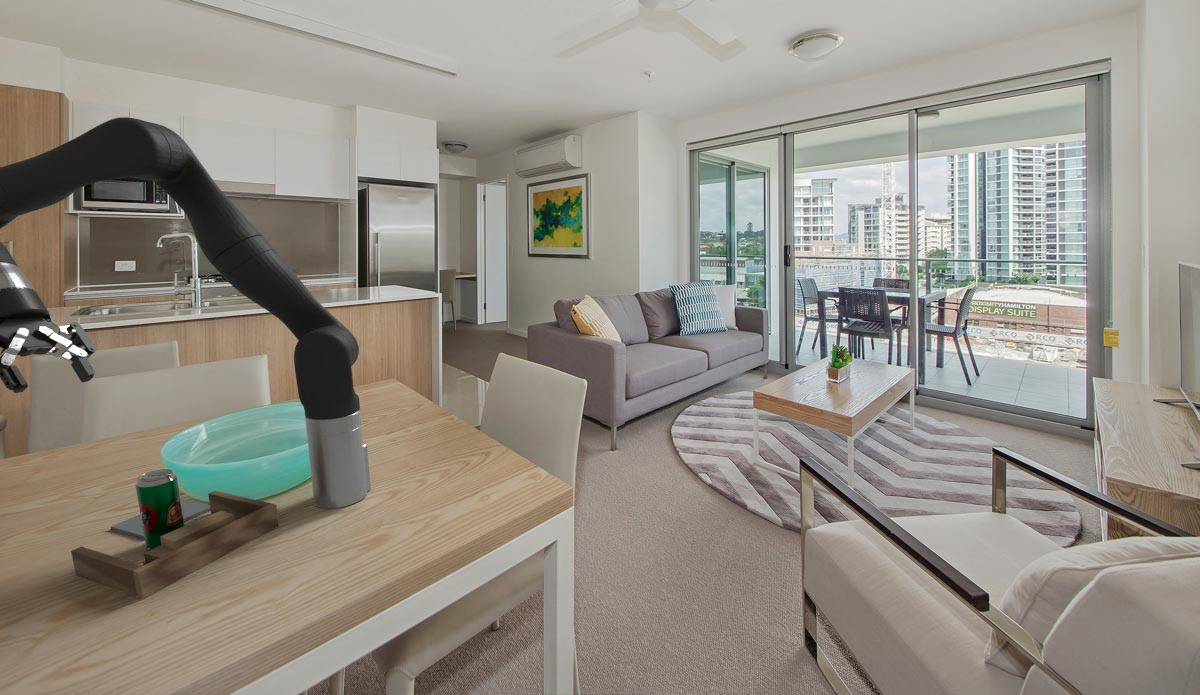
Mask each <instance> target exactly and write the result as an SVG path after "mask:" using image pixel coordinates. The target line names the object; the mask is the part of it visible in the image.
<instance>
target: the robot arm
mask: <svg viewBox="0 0 1200 695" xmlns="http://www.w3.org/2000/svg"><path fill="white" fill-rule="evenodd" d="M127 178H131V179H137V180H143V181H151V182H153V183H155V184H156V185H158V186H159V188H161V189H162V190H163V191H164V192H166V194H167V195H168V196H169V197H170V198H171V199H172V200H173V201H174V202H175V203H176V204H177V205H178V206H179V207H180V209H181V210H182V211H183V212H184V214H185V215H186V217H187V219H188V220H189V222H190V225H191V228H192V230H193V233H194V236H195V238H196V241H197V243H198V245H199V248H200V250H201V252H202V253H203V255H204V257H205V258H206V259H207V261H209V263H210V264H211V265H212V266H213V267H214V268H215V270H216V271H217V272H218V273H219V274H220V275H221V276H222V277H223V278H224V279H225V281H227V283H229V284H230V286H232V287H233V289H235V290H236V291H237V292H239V293H240V294H241V295H243V296H244V297H246V298H247V299H248V300H250V301H251V302H253V303H255V304H256V305H258V306H259V307H261V308H262V309H263V310H266V311H267V312H269V313H270V314H271V315H273V316H274V317H276V318H277V319H279V320H278V321H281V322H282V324H283V325H285V326H286V327H287V329H289V331H290V332H291V333H292V334H293V336H294V337H295V338H296V339H297V340H298V341H297V342H296V343H295V347H294V351H293V365H294V373H295V378H296V379H295V380H296V386H297V392H298V393H297V394H298V398H299V401H300V403H301V406H302V407H303V409H304V419H305V427H306V428H305V429H306V436H307V437H306V438H307V445H308V446H307V447H308V456H309V465H310V467H309V468H310V476H311V483H312V484H311V485H312V494H313V503H314V505H315V506H316V507H317V508H323V509H337V508H344V507H346V506H350V505H353V504H356V503H357V502H360V501H361V500H363V499H364V498H366V496H367V493H368V492H369V491H371V490H372V487H371V486H372V485H371V474H370V463H369V453H368V452H369V451H368V449H369V448H368V445H367V444H366V443H364V439H363V437H364V436H363V425H362V417H361V416H362V415H361V406H360V405H361V403H360V397H359V395H358V394H357V393H356V391H355V388H354V387H355V386H354V380H353V370H352V367H353V365H354V364H355V363H356V362H357V360H358V357H359V354H360V348H359V344H358V341H357V339H356V337H355V335H354V334H353V333H352V332H351V331H350V330H349V329H348V328H347V327H346V326H345V325H344V324H343V323H342V322H341V321H340V320H339V319H337V318H336V316H334V315H333V314H332V313H331V312H330V311H329V310H328V309H327V308H326V307H325V306H324V305H322V303H321V302H319V300H317V299H316V297H315V296H313V294H312V293H311V291H310V290H309V289H308V288H307V287H306V285H305V284H304V283H303V281H301V279H300V278H299V277H298V276H297V274H296V273H295V271H293V269H292V268H290V266H289V265H288V264H287V262H286V261H285V260H284V258H282V257H281V255H280V254H279V253H278V252H277V251H276V249H275V248H274V247H273V246H272V245H271V243H270V242H269V241H268V240H267V239H266V238H265V237H264V235H263V234H262V233H261V232H260V231H259V230H258V229H257V228H256V227H255V226H254V225H253V224H252V223H251V222H250V221H249V220H248V218H247V217H246V216H245V215H244V213H242V211H241V210H240V209H239V208H238V207H237V206H236V205H235V204H234V202H232V201H231V199H229V197H228V196H227V195H226V194H225V193H224V192H223V191H222V190H221V188H220V187H219V186H218V184H217V183H216V182H215V181H214V179H213V178H212V177H211V175H210V174H209V172H208V171H207V169H206V168H205V167H204V166H203V164H202V163H201V160H199V158H198V157H197V156H196V154H195V153H194V152H193V150H192V149H191V147H190V146H189V144H187V142H186V141H185V140H184V139H183V138H182V137H181V135H179V134H178V133H176V132H175V131H174V130H173V129H171V128H168V127H167V126H165V125H162V124H158V123H154V122H150V121H146V120H143V119H138V118H133V117H127V116H125V117H114V118H111V119H109V120H107V121H104V122H103V123H100V124H99V125H97V126H95V127H92V128H90V129H89V130H87V131H86V132H84V133H82V134H80V135H79V136H77V137H75V138H73V139H71V140H69V141H67V142H64V143H63V144H61V145H59V146H56V147H53V148H52V149H50V150H48V151H45V152H43V153H39V154H38V155H35V156H33V157H29V158H27V159H23V160H20V161H17V162H13V163H10V164H7V165H3V166H0V230H1V229H3V228H4V227H5V226H7V225H8V224H10V223H12V222H13V221H14V220H15V219H16V218H17V217H19V216H22V215H25V214H29V213H32V212H35V211H38V210H42V209H45V208H48V207H50V206H53V205H55V204H58V203H60V202H62V201H64V200H65V199H67V198H69V196H71V195H72V194H73V193H74V192H76V191H77V190H79V189H81V188H84V187H85V186H89V185H92V184H95V183H100V182H103V181H104V182H105V181H110V180H118V179H127ZM56 345H59V346H60V347H58V348H57V347H56ZM0 348H1V350H0V380H1V381H2V383H3V384H4V386H5V388H6V389H7V390H9V391H13V393H14V394H20V393H23V392H24V391H25V390H26V389H27V388H28V385H29V384H28V382H27V381H26V379H25V378H24V376H23V374H22V373H21V371H20V370H19V368H18V366H17V365H13V364H14V361H15V359H16V357H17V356H20V358H21V357H23V358H24V357H29V356H33V355H38V356H39V355H40V356H41V355H47V354H49V355H51V356H53V357H55V358H61V359H64V360H65V361H67V362H70V363H71V364H70V366H71V367H72V369H73V371H74V372H75V374H76V375H77V377H78V379H79V380H80V382H82V383H87V382H89V381H91V380H92V379H93V378H94V376H95V374H96V372H95V369H94V368H93V365H92V364H91V363H90V361H89V358H90V357H91V356H92V355H93V354H94V353H96V352H97V351H98V348H97V347H96V345H95V343H94V342H93V341H92V339H91V338H90V337H89V335H88V334H87V332H86V331H85V330H84V328H83V327H82V326H81V324H80V323H78V322H77V321H76V322H75V321H72V323H70V324H69V325H63V326H62V325H61V326H59V325H57V324H55V323H54V322H53V321H52V319H51V315H50V311H49V310H48V308H47V307H46V305H45V303H44V302H43V301H42V299H41V297H40V296H39V294H38V292H37V291H36V289H35V288H34V286H33V284H32V283H31V281H30V280H29V278H28V277H27V275H25V273H23V271H22V270H21V269H20V268H19V265H18V264H17V263H16V261H15V259H14V258H13V255H12V254H11V253H10V252H9V250H8V249H7V246H6V245H4V244H3V243H2V242H1V241H0Z"/></svg>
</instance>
